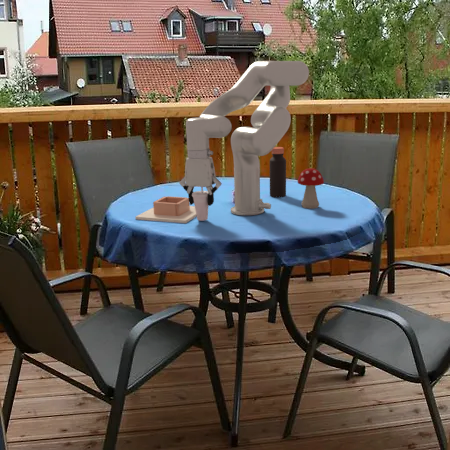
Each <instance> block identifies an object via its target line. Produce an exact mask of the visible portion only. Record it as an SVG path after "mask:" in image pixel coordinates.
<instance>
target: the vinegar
mask: <svg viewBox="0 0 450 450" xmlns="http://www.w3.org/2000/svg"><path fill="white" fill-rule="evenodd" d="M284 152H285V148H284V147H282V146H275V147H274V148H273V149H272V150H271V155H272V157H270V159H269V196H270V197H272V198H285V197H286V196H287V159H286V158H285V157H284Z"/></svg>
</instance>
